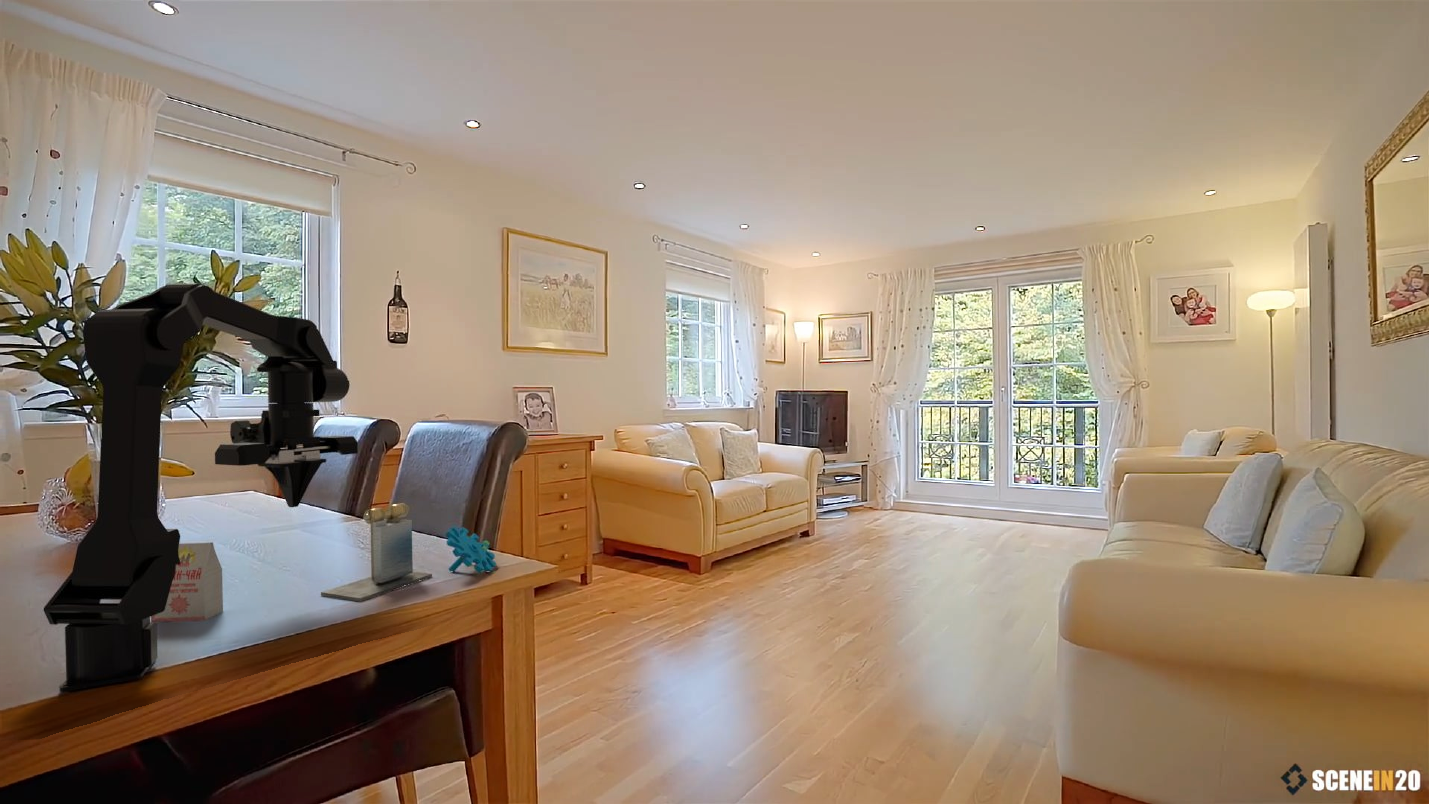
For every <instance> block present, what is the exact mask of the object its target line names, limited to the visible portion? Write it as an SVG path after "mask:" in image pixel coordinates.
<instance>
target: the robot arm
mask: <svg viewBox="0 0 1429 804" xmlns="http://www.w3.org/2000/svg"><path fill="white" fill-rule="evenodd" d="M202 326H205V327H208V328H211V329H213V330H216V331H220V332H223V333H225V334H228V335H232V336H234V337H237V338H241V339H243V340H245V341H247V342H249V343H250V346H251V348H252V349H253V350H255V351H256V352H258V353H260V354H261V355H262V356H263V355H264V356H265V357H267V358H266V360H265V361H263V362H262V363H260V365H258V366H257V368H256V370H257V372H258V373H267V403H268V405H267V406H268V409H266V410H264V409H263V410H262V413H261V414H260V415H261V417H260V418H261V419H260V422H258V423H257V422H255V423H251V422H250V420H235V421H233V422H231V423H230V433H229V436H230V440H231V442H232V443H224V444H222V443H221V444H220V445H218V448H216V450H215V452H214V465H217V466H218V465H220V466H221V465H223V466H238V467H240V466H253V465H257V466H258V467H264V468H266V470H267V471H269V472H270V473H271V475H272V477H274V479H275V481H276V482H277V483H276V484H278V487H279V489H280V490H281V494H282V496H283V497H284V500H285V502H286V504H287V506H288V507H289V508H296V507H299V505H300V503H301V501H302V499H303V497H304V496H305V494H306V491H307V489H308V487H309V485H310V483H311V481H312V480H313V478H314V477H315V475H316V473H317V471H318V470H319V469H320V467H321V465H322V464H323V463H324V464H325V463H327V459H326V458H321V454H330V453H336V454H337V453H339V454H340V455H341V456H342V455H343V456H344V455H345V456H346V455H355V454H359V442H358V441H357V439H356V438H355V437H354V436H353V435H349V436H348V435H327V436H315V428H314V427H315V423H314V417H320V409H314V403H329V402H331V403H334V402H339V401H341V400H343V398H345V397H346V396H347V395H348V392H349V390H350V385H351V384H350V380H349V379H348V376H347V374H346V372H344V371H343V370H342V369H340V368H338V361H337V360H334V358H333V357H332V355H331V353H330V351H329V348H328V346H327V345H326V342H325V340H324V339H323V336H322V334H321V332H320V330H319V329H318V327H317V324H316V323H314V322H313V321H312V320H310V319H307V318H300V317H294V316H283V315H274V314H271V313H268V312H266V311H263V310H260V309H258V308H256V307H253V306H252V305H248V304H246V303H244V302H241V301H239V300H237V299H235V298H233V297H229V296H227V295H225V294H223V293H219V292H218V291H215V290H213V288H212V287H210V286H208V285H204V284H203V283H199V282H195V283H194V282H193V283H191V282H190V283H169V284H165V285H164V286H160V287H159V288H157V289H156V290H154V291H153V292H151V293H148V294H146V295H143V296H139V297H138V298H134V299H132V300H129V301H126V302H123V303H121V304H119V305H116V306H114V307H112V308H111V309H101V310H98V311H96V312H95V313H94V314H93V315H91V316H89V317H87V318H86V320H85V321H84V325H83V329H82V336H83V337H82V338H83V344H84V345H83V346H84V352H85V353H84V354H85V361H86V364H87V365H88V367H89V368H90V370H91V371H92V373H93V374H94V375H95V377H96V379H97V380H98V382H99V383H100V385H101V387H102V410H101V434H100V455H99V456H100V457H99V472H98V473H99V474H98V475H99V476H98V495H97V497H98V498H97V499H98V501H97V503H98V504H97V516H96V520H95V522H94V523H93V524H92V525H91V527H90V528H89V530H88V531H87V533H85V535H84V537H83V538H81V541H80V542H79V543H78V545H77V548H76V553H75V557H74V562H73V565H72V572H71V573H70V574H69V575H68V577H66V579H65V580H64V582H63V583H62V584H61V585H60V586H59V588H58V589H57V591H56V592H55V593H54V594H53V596H51V598H50V600H48V601H47V603H46V604H45V605H44V607H43V612H44V614H45V617H46V619H47V621H48V623H49V625H55V626H56V625H59V624H60V625H62V624H63V625H65V627H64V643H65V644H64V645H65V646H64V647H65V674H66V675H65V679H66V680H65V681H64V682H63V683H61V685H59V686H58V688H59V689H58V691H59V692H62V693H63V692H68V691H69V692H70V691H73V690H74V691H75V690H81V689H86V688H93V687H98V686H99V687H100V686H105V685H110V684H118V683H123V682H129V681H135V680H139V679H141V678H143V677H144V675H145V674H146V673H147V671H148V670H149V669H150V667H152V665H153V664H154V662H156V660H157V658H158V657H159V656H158V627H157V626H158V625H157V624H158V623H156V622H151V616H153V615H156V614H158V613H161V612H163V611H164V610H165V607H166V603H167V600H168V596H169V592H170V588H171V585H172V581H173V579H174V576H175V570H176V565H180V564H181V562H180V559H179V553H178V548H179V543H181V542H180V541H181V534H180V530H179V529H177V528H166V527H165V525H164V524H163V523H162V521H161V519H160V518H159V517H158V497H159V495H158V494H159V473H160V472H159V471H160V446H161V426H162V425H161V424H162V423H161V421H162V420H161V419H162V402H163V401H162V398H163V397H162V396H163V388H164V387H165V386H166V384H168V382H169V380H171V378H172V377H173V375H174V374H175V373H176V371H178V369H179V367H180V365H181V361H182V354H183V351H184V346H185V345H184V344H185V343H187V342H188V341H189V340H191V339H192V338H193V337H195V336H196V335H198V334H199V333H200V332H201V331H202V328H203V327H202ZM102 600H114V601H115V600H116V601H117V600H118V601H119V602H118V603H117V602H115V603H113V602H104V603H103V602H101V601H102Z"/></svg>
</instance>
